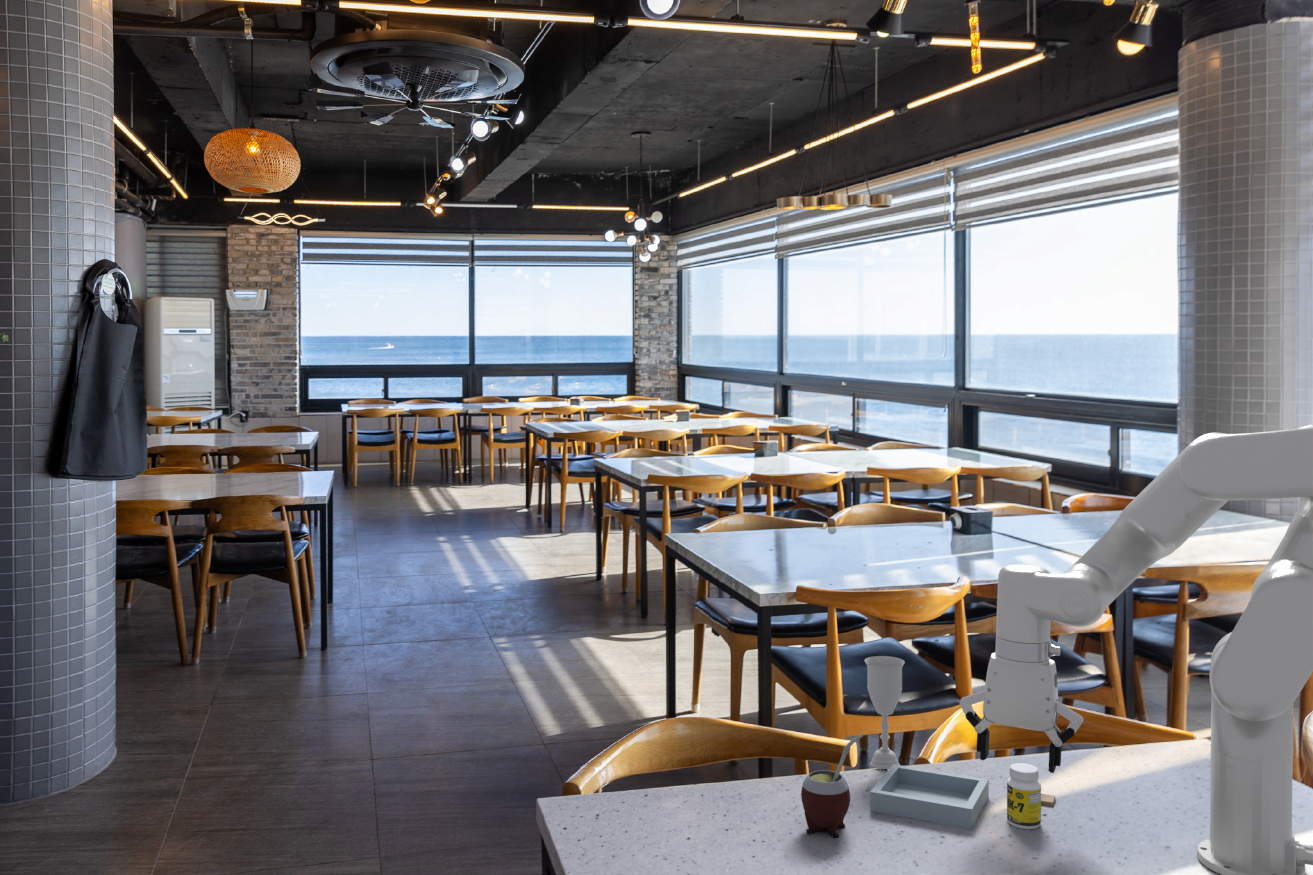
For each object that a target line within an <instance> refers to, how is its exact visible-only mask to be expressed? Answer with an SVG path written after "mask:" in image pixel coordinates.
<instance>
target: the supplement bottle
mask: <svg viewBox="0 0 1313 875" xmlns="http://www.w3.org/2000/svg"><path fill="white" fill-rule="evenodd" d="M1008 774H1009V777H1008V779H1007V781H1006V821H1007V822H1008V824H1009V825H1011V826H1012V827H1015V828H1016V829H1017V828H1018V829H1020V830H1021V829H1022V830H1034V829H1037V828H1040V826H1041V824H1042V821H1041V820H1042V805H1041V794H1042V784H1041V782H1040V781H1039V777H1040V776H1039V768H1038V767H1036V766H1035V765H1032V764H1029V763H1024V762H1022V763H1021V762H1015V763H1012V764H1010V765H1009V773H1008Z"/></svg>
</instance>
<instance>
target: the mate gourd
mask: <svg viewBox="0 0 1313 875" xmlns="http://www.w3.org/2000/svg"><path fill="white" fill-rule="evenodd" d="M864 736H865V732H862V734H860V735H858V736H856V737H854V738H853V739H851V740H850V741H849V742H847V744H846V745H844V747H843V749H842V754H841V757H840V759H839V762H838V765H837V768H836V771H833V770H825V769H824V770H822V769H821V770H814V771H812V772H809V774H807V775H806V777H805V779H804V780H803V782H802V786H801V789H800V790H801V791H800V792H801V793H800V798H801V803H802V807H803V810H804V817H805V821H806V824H807V828H806V829H805V831H806V834H807V835H814V834H819V833H826V834H827V835H828V836H830V837H831V838H833V839H834V840H835V839H839V838H840V836H839V834H838V830H841V829H845V828H846V824H845V823H844V821H845V820H844V819H845V817H846V815H847V813H848V811H849V807H850V804H851V791H850V789H849V788H850V787H849V784H848V781H847V780H846V778H845V776H844V775H842V774H841V771H842V768H843V765H844V763H845V759H846V757H847V755H848V754H849V752H850V750H851V747H852V746H853V745H854V743H856V742H857V741H858V740H860V739H861V738H862V737H864Z"/></svg>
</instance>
